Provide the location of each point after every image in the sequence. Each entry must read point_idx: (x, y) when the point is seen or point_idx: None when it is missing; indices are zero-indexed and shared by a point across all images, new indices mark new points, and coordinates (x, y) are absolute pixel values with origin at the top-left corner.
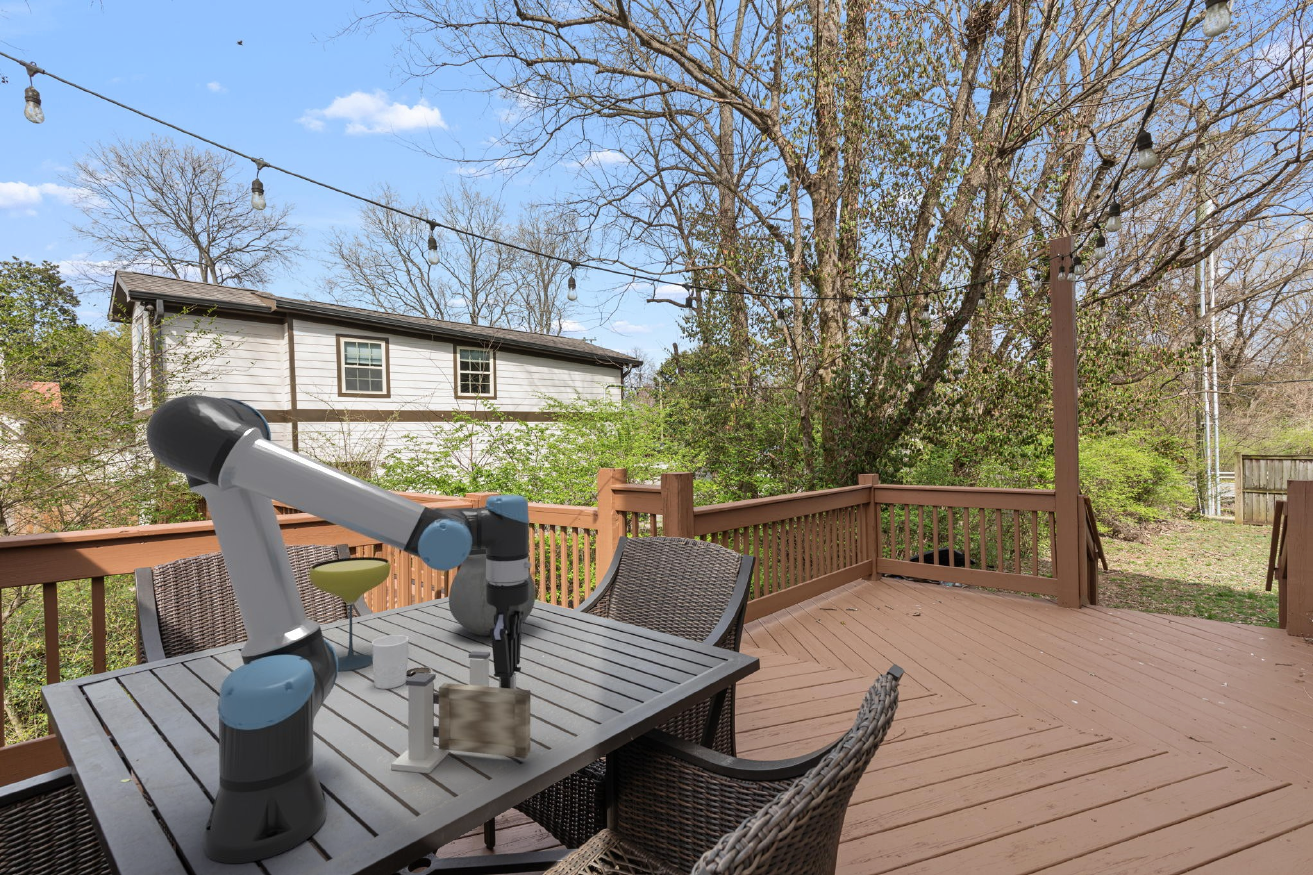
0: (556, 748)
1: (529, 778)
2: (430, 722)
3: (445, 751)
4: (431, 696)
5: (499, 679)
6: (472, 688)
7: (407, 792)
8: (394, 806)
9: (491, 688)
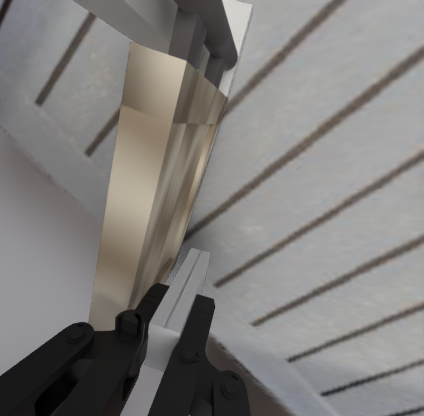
0: (214, 294)
1: None
2: (168, 51)
3: None
4: (133, 18)
5: (156, 311)
6: (121, 210)
7: (89, 62)
8: (50, 51)
9: (122, 274)
